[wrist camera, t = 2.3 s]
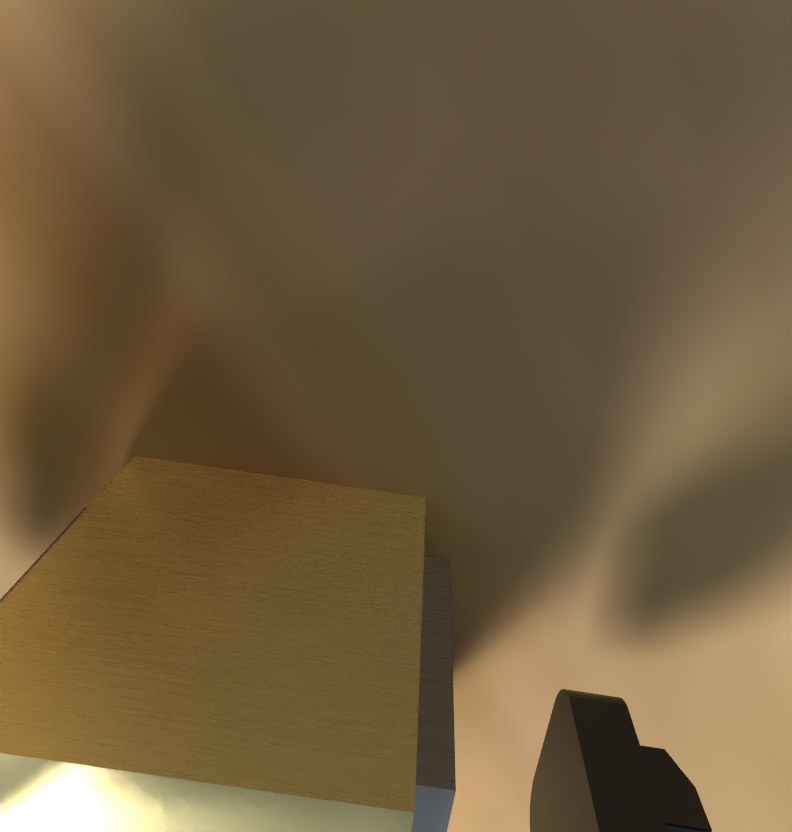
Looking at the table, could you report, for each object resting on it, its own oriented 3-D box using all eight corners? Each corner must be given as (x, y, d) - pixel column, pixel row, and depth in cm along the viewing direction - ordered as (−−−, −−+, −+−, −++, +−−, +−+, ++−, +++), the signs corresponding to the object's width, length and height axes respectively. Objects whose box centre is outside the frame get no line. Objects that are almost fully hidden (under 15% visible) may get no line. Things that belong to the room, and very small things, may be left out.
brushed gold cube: (106, 450, 10) (-175, 726, 5) (455, 500, 10) (469, 820, 5) (111, 680, 12) (-109, 1053, 7) (414, 724, 12) (398, 1124, 7)
